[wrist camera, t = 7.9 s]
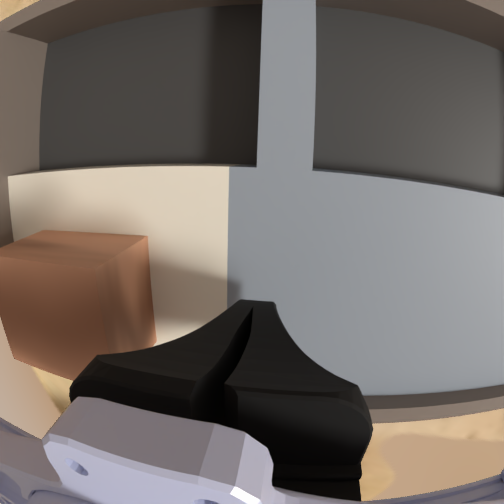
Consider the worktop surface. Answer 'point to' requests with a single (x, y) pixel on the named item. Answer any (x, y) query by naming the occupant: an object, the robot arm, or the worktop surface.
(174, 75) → the box
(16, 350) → the block
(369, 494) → the worktop surface
